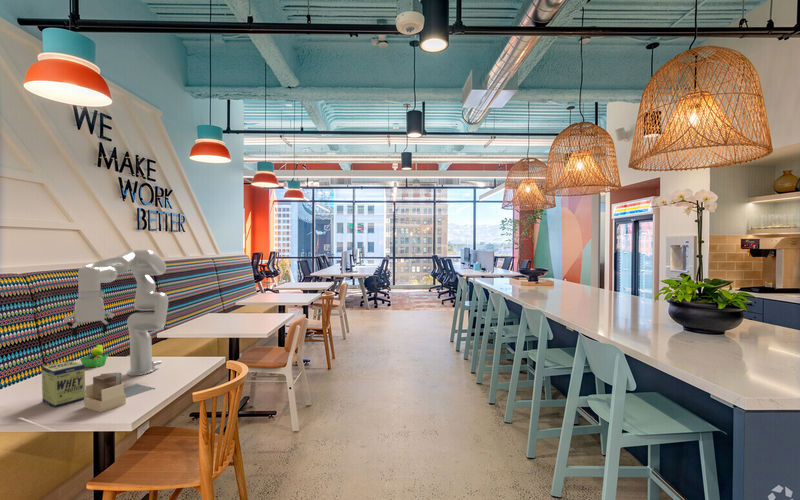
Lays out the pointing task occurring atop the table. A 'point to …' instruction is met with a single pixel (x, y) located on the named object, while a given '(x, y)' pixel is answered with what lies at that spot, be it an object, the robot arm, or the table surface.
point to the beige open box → (105, 398)
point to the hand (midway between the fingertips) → (89, 335)
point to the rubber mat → (135, 389)
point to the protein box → (63, 383)
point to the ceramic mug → (117, 377)
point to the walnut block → (102, 384)
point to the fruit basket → (94, 358)
